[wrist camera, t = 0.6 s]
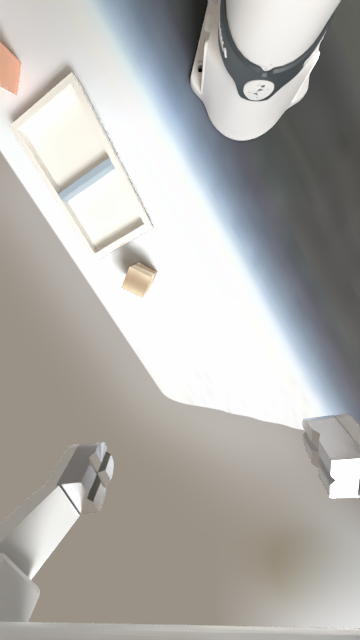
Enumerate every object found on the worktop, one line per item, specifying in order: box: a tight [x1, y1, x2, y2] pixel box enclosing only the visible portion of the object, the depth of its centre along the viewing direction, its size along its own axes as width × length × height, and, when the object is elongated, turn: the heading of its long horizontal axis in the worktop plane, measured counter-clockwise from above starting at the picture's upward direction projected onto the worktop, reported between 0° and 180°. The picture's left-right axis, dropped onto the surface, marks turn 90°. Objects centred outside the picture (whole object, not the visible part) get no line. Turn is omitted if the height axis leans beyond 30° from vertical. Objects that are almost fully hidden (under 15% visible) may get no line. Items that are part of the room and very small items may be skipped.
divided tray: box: [9, 72, 154, 260], centre depth 39 cm, size 25×14×3 cm, turn 27°
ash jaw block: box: [122, 263, 157, 298], centre depth 44 cm, size 4×4×7 cm
